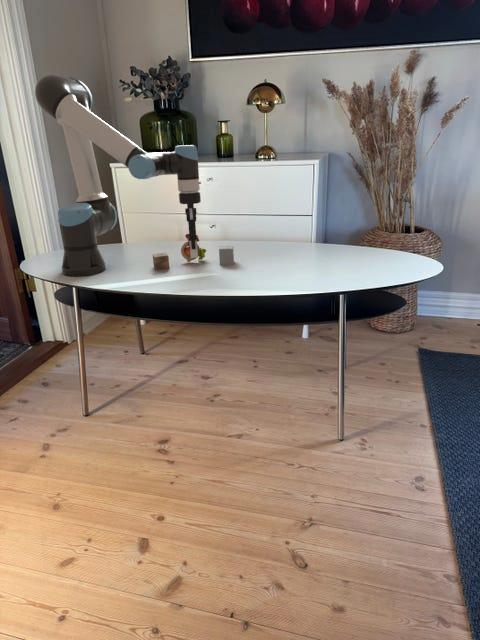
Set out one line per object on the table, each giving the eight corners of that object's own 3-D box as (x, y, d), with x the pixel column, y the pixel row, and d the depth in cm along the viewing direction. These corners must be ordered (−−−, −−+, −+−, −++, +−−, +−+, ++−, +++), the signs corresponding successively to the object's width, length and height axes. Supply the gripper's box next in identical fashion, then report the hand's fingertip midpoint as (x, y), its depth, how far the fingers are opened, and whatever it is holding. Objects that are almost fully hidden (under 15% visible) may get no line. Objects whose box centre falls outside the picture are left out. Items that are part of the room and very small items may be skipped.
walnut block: (155, 270, 172) (154, 257, 170) (153, 267, 176) (152, 254, 174) (169, 269, 173) (168, 255, 171) (167, 265, 177) (166, 252, 176)
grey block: (219, 265, 175) (218, 249, 173) (220, 261, 180) (219, 246, 178) (233, 264, 175) (232, 248, 173) (233, 261, 180) (233, 245, 178)
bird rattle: (190, 267, 177) (210, 254, 177) (173, 242, 176) (193, 228, 176) (190, 267, 183) (210, 254, 183) (174, 242, 182) (193, 229, 182)
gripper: (200, 193, 163) (205, 260, 171) (199, 189, 175) (203, 252, 184) (178, 194, 162) (184, 262, 171) (178, 190, 174) (184, 254, 183)
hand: (194, 257), depth 177 cm, fingers closed
